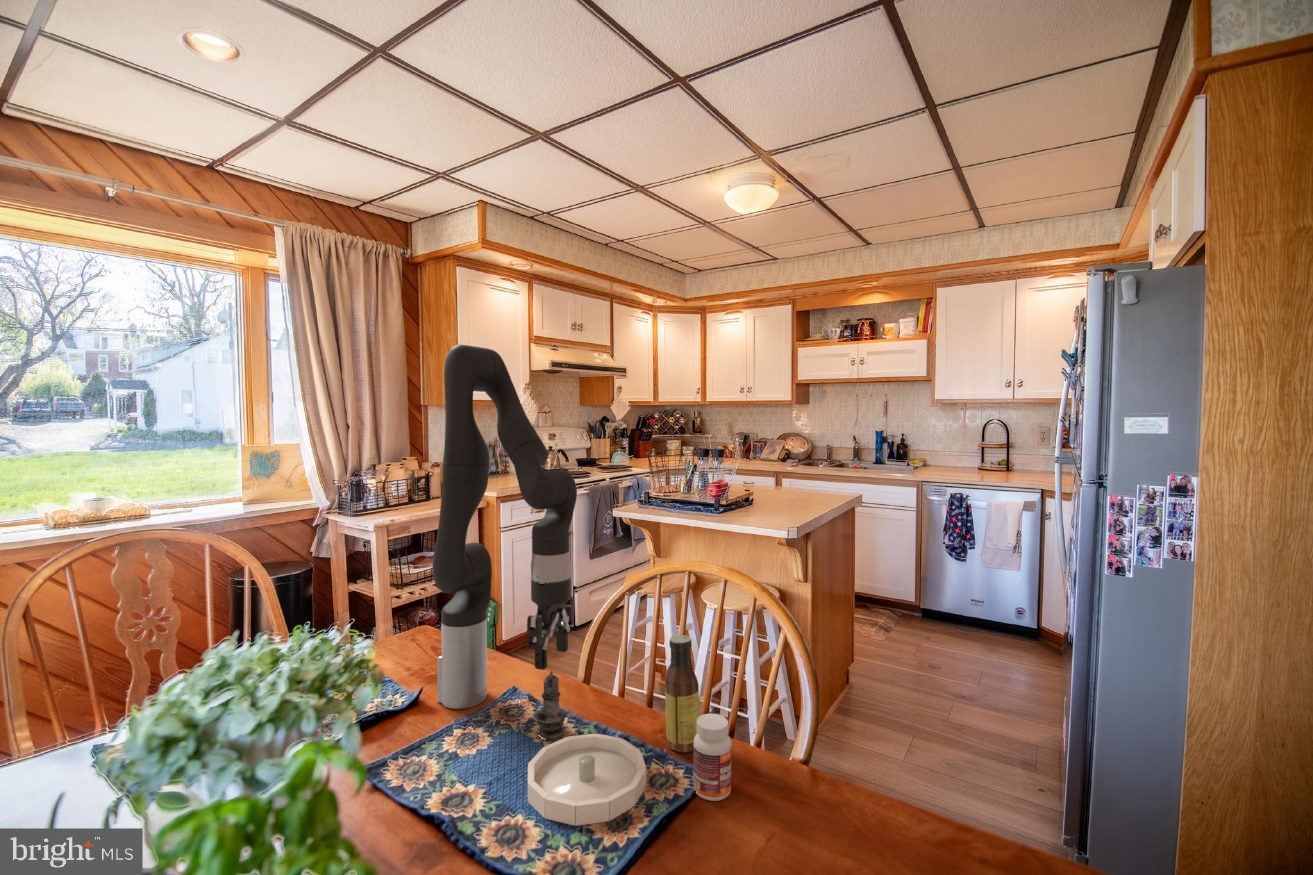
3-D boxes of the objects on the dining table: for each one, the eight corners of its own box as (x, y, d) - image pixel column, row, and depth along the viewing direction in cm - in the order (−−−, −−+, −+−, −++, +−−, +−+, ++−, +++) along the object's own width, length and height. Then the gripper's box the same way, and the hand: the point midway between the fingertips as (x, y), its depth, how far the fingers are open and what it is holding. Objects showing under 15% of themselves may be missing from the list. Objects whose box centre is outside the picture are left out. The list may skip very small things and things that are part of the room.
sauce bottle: (704, 740, 107) (705, 635, 107) (692, 758, 102) (693, 647, 101) (672, 732, 110) (673, 630, 109) (659, 749, 104) (659, 641, 104)
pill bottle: (727, 805, 89) (727, 734, 89) (689, 797, 91) (689, 727, 90) (734, 782, 95) (734, 715, 95) (697, 775, 97) (698, 709, 96)
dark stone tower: (569, 725, 112) (570, 665, 112) (562, 742, 106) (562, 678, 106) (540, 723, 113) (540, 663, 112) (531, 740, 107) (531, 677, 107)
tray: (504, 808, 88) (504, 783, 88) (561, 742, 106) (561, 721, 106) (619, 836, 82) (619, 809, 82) (658, 762, 100) (659, 739, 100)
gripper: (551, 565, 117) (552, 643, 117) (513, 583, 103) (514, 672, 103) (584, 567, 114) (585, 647, 115) (550, 587, 101) (551, 677, 101)
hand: (551, 659), depth 109 cm, fingers open, 8 cm apart
